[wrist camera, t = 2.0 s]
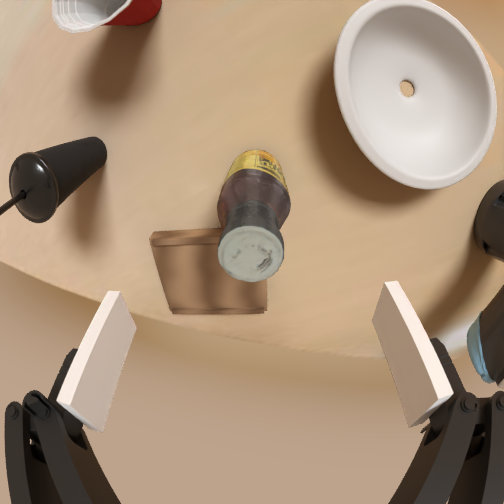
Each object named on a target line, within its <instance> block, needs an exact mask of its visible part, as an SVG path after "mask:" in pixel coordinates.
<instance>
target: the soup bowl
mask: <svg viewBox="0 0 504 504" xmlns="http://www.w3.org/2000/svg"><path fill="white" fill-rule="evenodd" d="M333 67H334V85H335V91H336V97H337V101H338V104H339V108H340V111H341V114H342V117H343V119H344V122H345V124H346V126H347V128H348V130H349V132H350V134H351V136H352V138H353V139H354V141H355V143H356V144H357V146H358V147H359V149H360V150H361V151H362V152H363V154H364V155H365V156H366V157H367V159H368V160H369V161H370V162H371V163H372V164H373V165H374V166H375V167H376V168H378V169H379V170H380V171H381V172H382V173H384V174H385V175H387V176H388V177H390V178H391V179H393V180H395V181H397V182H399V183H401V184H403V185H406V186H409V187H413V188H418V189H426V190H429V189H440V188H444V187H448V186H451V185H453V184H455V183H457V182H459V181H461V180H462V179H464V178H465V177H467V176H468V175H469V174H470V173H471V172H472V171H473V170H474V169H475V168H476V167H477V166H478V165H479V163H480V162H481V161H482V159H483V157H484V156H485V154H486V152H487V150H488V148H489V146H490V143H491V141H492V137H493V134H494V130H495V124H496V116H497V100H496V91H495V85H494V81H493V77H492V74H491V71H490V68H489V65H488V63H487V60H486V58H485V56H484V54H483V52H482V50H481V49H480V47H479V45H478V44H477V42H476V41H475V39H474V38H473V37H472V35H471V34H470V33H469V32H468V30H467V29H466V28H465V27H464V26H463V25H462V24H461V23H460V22H459V21H458V20H457V19H455V18H454V17H453V16H452V15H451V14H449V13H448V12H447V11H445V10H444V9H442V8H440V7H439V6H437V5H435V4H433V3H431V2H428V1H426V0H371V1H369V2H367V3H365V4H364V5H362V6H361V7H359V8H358V9H357V10H356V11H355V12H354V13H353V14H352V15H351V16H350V18H349V19H348V20H347V22H346V23H345V25H344V27H343V29H342V31H341V33H340V35H339V38H338V41H337V45H336V49H335V55H334V66H333ZM403 80H408V81H410V82H411V83H412V84H413V86H414V94H413V95H412V96H411V97H405V96H403V94H402V93H401V91H400V83H401V82H402V81H403Z"/></svg>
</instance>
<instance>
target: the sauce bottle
mask: <svg viewBox="0 0 504 504" xmlns="http://www.w3.org/2000/svg"><path fill="white" fill-rule="evenodd" d="M290 207H291V203H290V197H289V192H288V189H287V185H286V182H285V179H284V176H283V172H282V169H281V166H280V164H279V162H278V161H277V159H276V158H275V157H274V156H272V155H271V154H269V153H268V152H266V151H261V150H250V151H246V152H244V153H243V154H241V155H239V156H238V157H237V158H236V159H235V161H234V162H233V164H232V166H231V168H230V170H229V173H228V175H227V177H226V179H225V182H224V184H223V187H222V189H221V193H220V196H219V200H218V204H217V211H218V218H219V221H220V223H221V226H222V228H223V232H222V233H221V236H220V239H219V243H218V249H217V256H218V260H219V263H220V265H221V267H222V268H223V269H224V270H225V271H226V273H227V274H228V275H230V276H231V277H233V278H235V279H237V280H243V281H246V282H258V281H261V280H265V279H267V278H269V277H271V276H272V275H274V274H275V273H276V272H277V271H278V269H279V267H280V266H281V264H282V261H283V259H284V242H283V238H282V235H281V233H280V231H279V230H280V228H281V227H282V225H283V223H284V221H285V220H286V218H287V217H288V215H289V212H290Z"/></svg>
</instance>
